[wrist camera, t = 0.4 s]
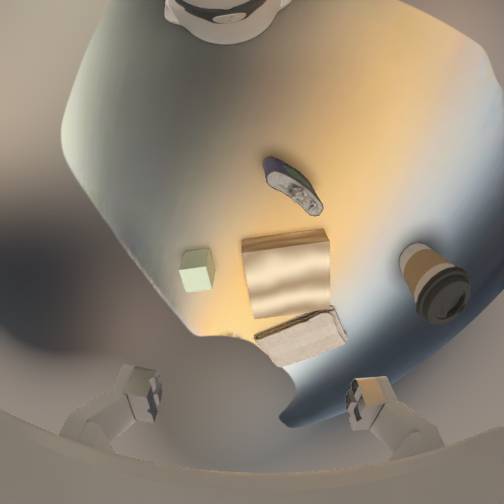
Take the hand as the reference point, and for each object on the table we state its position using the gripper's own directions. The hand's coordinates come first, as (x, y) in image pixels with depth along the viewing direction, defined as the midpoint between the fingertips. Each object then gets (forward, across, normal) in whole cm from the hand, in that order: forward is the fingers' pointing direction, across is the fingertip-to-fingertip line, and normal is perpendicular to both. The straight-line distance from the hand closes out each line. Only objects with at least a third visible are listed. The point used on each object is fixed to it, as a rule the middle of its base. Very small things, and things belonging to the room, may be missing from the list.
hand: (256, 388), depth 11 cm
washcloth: (+43, -13, +31) cm, 55 cm away
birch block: (+41, -7, +14) cm, 44 cm away
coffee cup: (+41, -33, +10) cm, 53 cm away
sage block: (+40, +9, +13) cm, 43 cm away
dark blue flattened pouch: (+39, -5, -3) cm, 39 cm away
